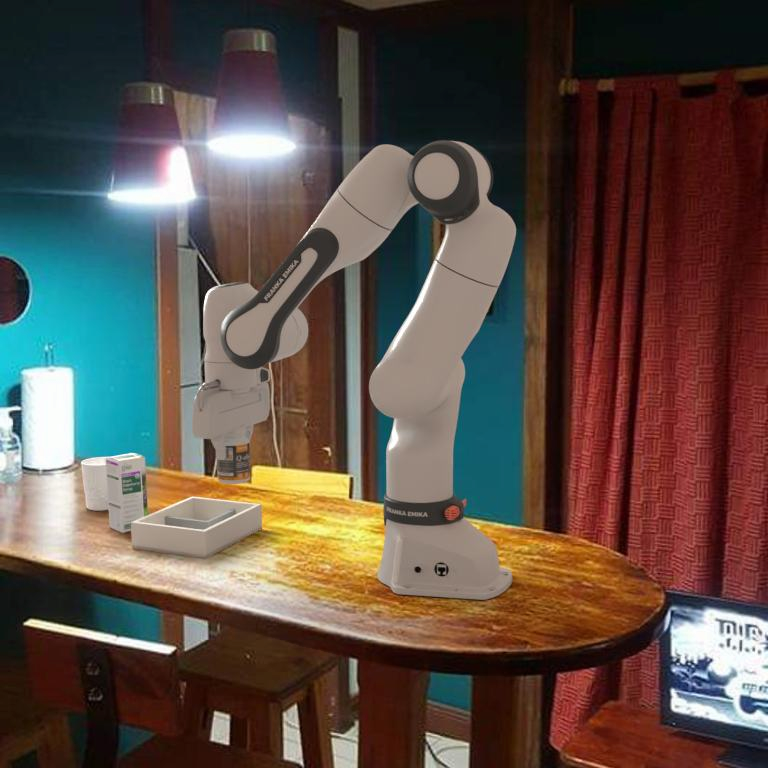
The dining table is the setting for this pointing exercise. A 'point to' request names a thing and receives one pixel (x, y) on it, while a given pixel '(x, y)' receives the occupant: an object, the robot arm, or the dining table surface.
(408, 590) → the robot arm
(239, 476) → the pill bottle
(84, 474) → the white cup
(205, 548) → the box
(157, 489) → the dining table surface
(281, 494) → the dining table surface
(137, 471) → the syrup box
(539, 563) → the dining table surface
